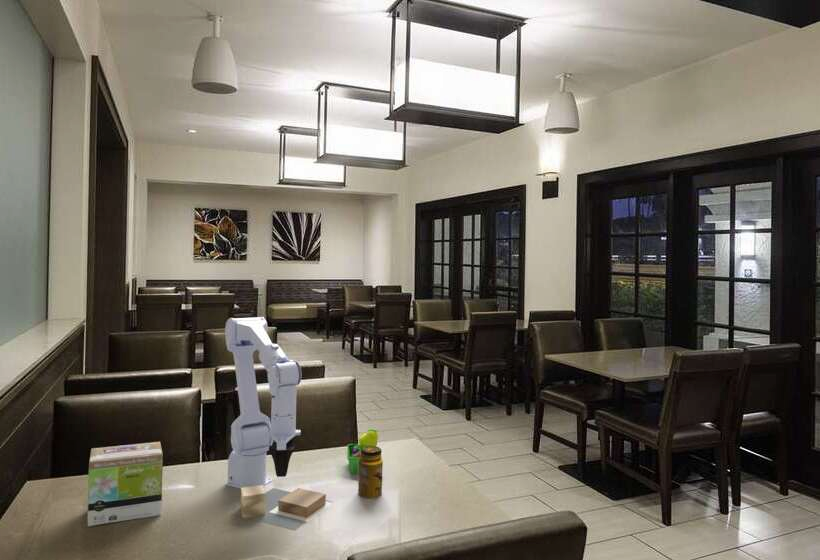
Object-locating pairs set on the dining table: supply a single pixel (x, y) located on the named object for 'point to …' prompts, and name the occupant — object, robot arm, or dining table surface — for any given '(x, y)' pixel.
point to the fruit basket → (355, 449)
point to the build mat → (280, 517)
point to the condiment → (370, 472)
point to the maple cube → (252, 501)
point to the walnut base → (302, 502)
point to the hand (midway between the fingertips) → (282, 469)
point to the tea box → (125, 483)
